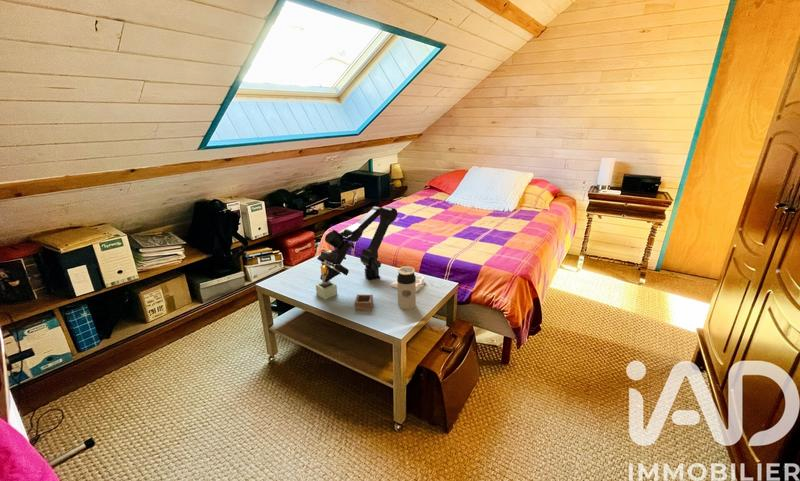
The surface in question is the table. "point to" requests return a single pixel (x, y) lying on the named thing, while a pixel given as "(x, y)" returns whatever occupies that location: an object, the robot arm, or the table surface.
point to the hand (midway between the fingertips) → (323, 280)
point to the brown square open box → (363, 303)
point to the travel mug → (406, 288)
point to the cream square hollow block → (326, 290)
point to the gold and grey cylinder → (324, 275)
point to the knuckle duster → (418, 282)
